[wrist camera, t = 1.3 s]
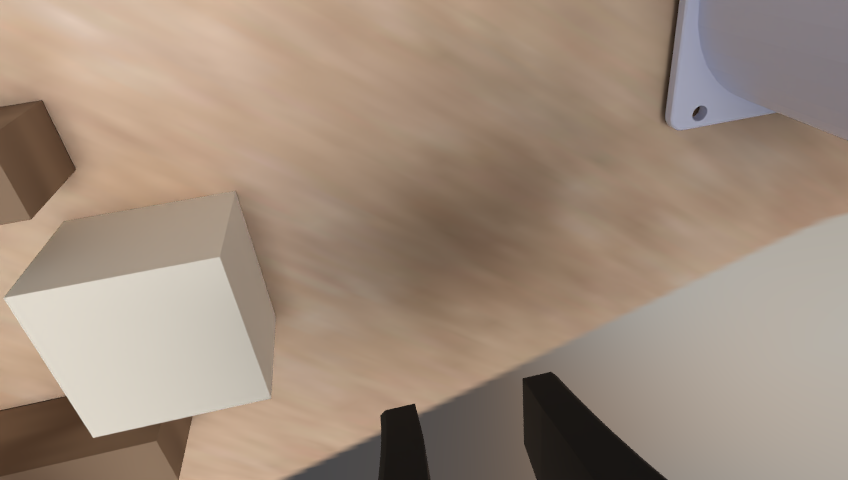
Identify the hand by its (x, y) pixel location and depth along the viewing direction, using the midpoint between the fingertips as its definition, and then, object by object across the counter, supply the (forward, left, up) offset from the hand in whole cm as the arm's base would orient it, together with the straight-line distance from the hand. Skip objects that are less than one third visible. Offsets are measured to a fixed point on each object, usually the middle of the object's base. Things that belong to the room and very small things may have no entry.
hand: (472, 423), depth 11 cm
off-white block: (+8, 0, -9) cm, 11 cm away
